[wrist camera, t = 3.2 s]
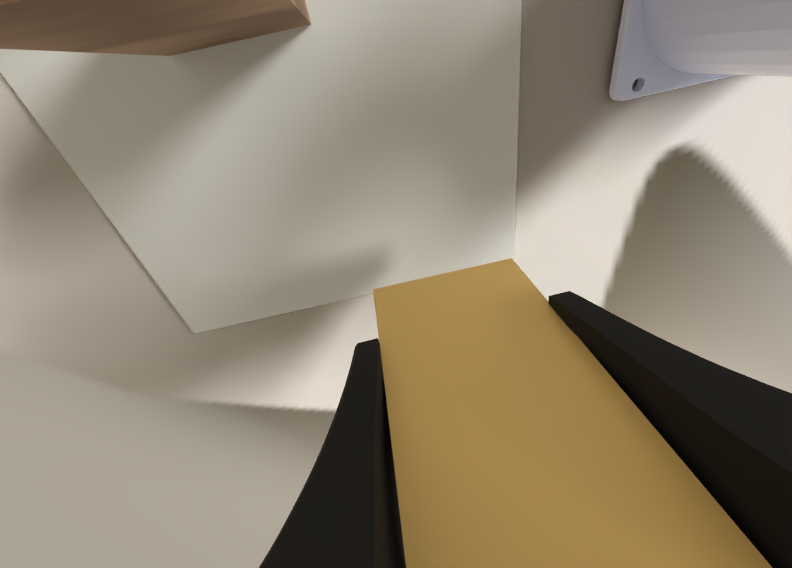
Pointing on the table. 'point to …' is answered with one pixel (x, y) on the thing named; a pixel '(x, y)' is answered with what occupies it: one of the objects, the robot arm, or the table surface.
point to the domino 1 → (142, 24)
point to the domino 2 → (529, 440)
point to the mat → (298, 152)
